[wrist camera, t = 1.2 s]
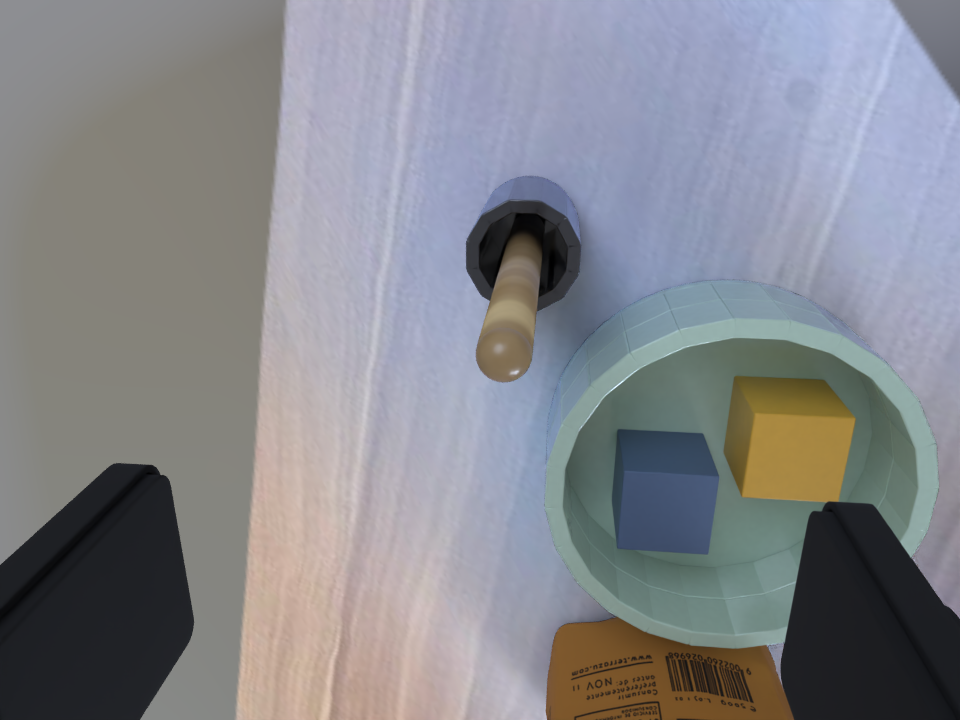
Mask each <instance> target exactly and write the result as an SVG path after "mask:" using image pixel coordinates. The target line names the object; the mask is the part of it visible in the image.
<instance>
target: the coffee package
mask: <svg viewBox="0 0 960 720" xmlns="http://www.w3.org/2000/svg"><path fill="white" fill-rule="evenodd" d="M546 715H547V720H794V718H793V715H792V712H791V709H790V706H789V703H788V701H787V698H786V695H785V692H784V690H783V687H782V685H781V683H780V680H779V677H778V674H777V672H776V666H775V663H774V660H773V658H772V655H771V653H770V651H769V649H768V647H767V645H763V646H755V647H747V648H739V649H736V648H735V649H730V648H717V647H704V646H691V645H689V644H688V645H687V644H684V643H680V642H677V641H673V640H670V639H666V638H663V637H659V636H656V635H653V634H649V633H647V632H644V631H642V630H640V629H638V628H636V627H635V626H633V625H631V624H629V623H627V622H626V621H624V620H622V619H620V618H618V617H615V618H612V619H608V620H604V621H600V622H584V623H569V624H565V625H563V626H561V627H560V628H559V629H558V631H557V632H556V635H555V637H554V641H553V646H552V652H551V660H550V666H549V671H548V679H547V699H546Z"/></svg>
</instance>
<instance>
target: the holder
mask: <svg viewBox="0 0 960 720" xmlns="http://www.w3.org/2000/svg"><path fill="white" fill-rule="evenodd" d="M522 214H535V215H537V216H538V217H539V218H540V219H541V220H542V222H543V224H544V228H545V232H544V242H543V252H542V262H541V272H540V282H539V292H538V302H537V311H539V310H541V309H543V308H545V307H547V306H549V305H551V304H553V303H555V302H557V301H559V300H561V299H562V298H563V297H564V296H565V295H566V293H567V292H568V290H569V289H570V287H571V286H572V284H573V283H574V281H575V280H576V278H577V277H578V275H579V272H580V256H581V239H580V230H579V220H578V214H577V212H576V210H575V207H574V205H573V202H572V200H571V199H570V197H569V196H568V194H567V193H566V192H565V191H564V190H563V189H562V188H561V187H560V186H559V185H557V184H556V183H554V182H552V181H550V180H548V179H545V178H542V177H538V176H522V177H517V178H514V179H511V180H509V181H507V182H505V183H504V184H502V185H501V186H499V187H498V188H497V189H495V190H494V191H493V192H492V194H491V196H490V198H489V199H488V201H487V203H486V204H485V206H484V208H483V209H482V211H481V213H480V215H479V217H478V219H477V221H476V223H475V225H474V226H473V228H472V230H471V232H470V234H469V236H468V238H467V241H466V269H467V272H468V274H469V276H470V277H471V279H472V281H473V283H474V284H475V286H476V288H477V290H478V291H479V293H480V294H481V295H482V297H484V298H486V299H488V300H489V301H490V300H491V296H492V293H493V289H494V286H495V283H496V279H497V276H498V272H499V269H500V266H501V262H502V259H503V255H504V252H505V249H506V245H507V242H508V238H509V235H510V232H511V228H512V225H513V222H514V221H515V219H516V218H517V217H519V216H520V215H522Z"/></svg>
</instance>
